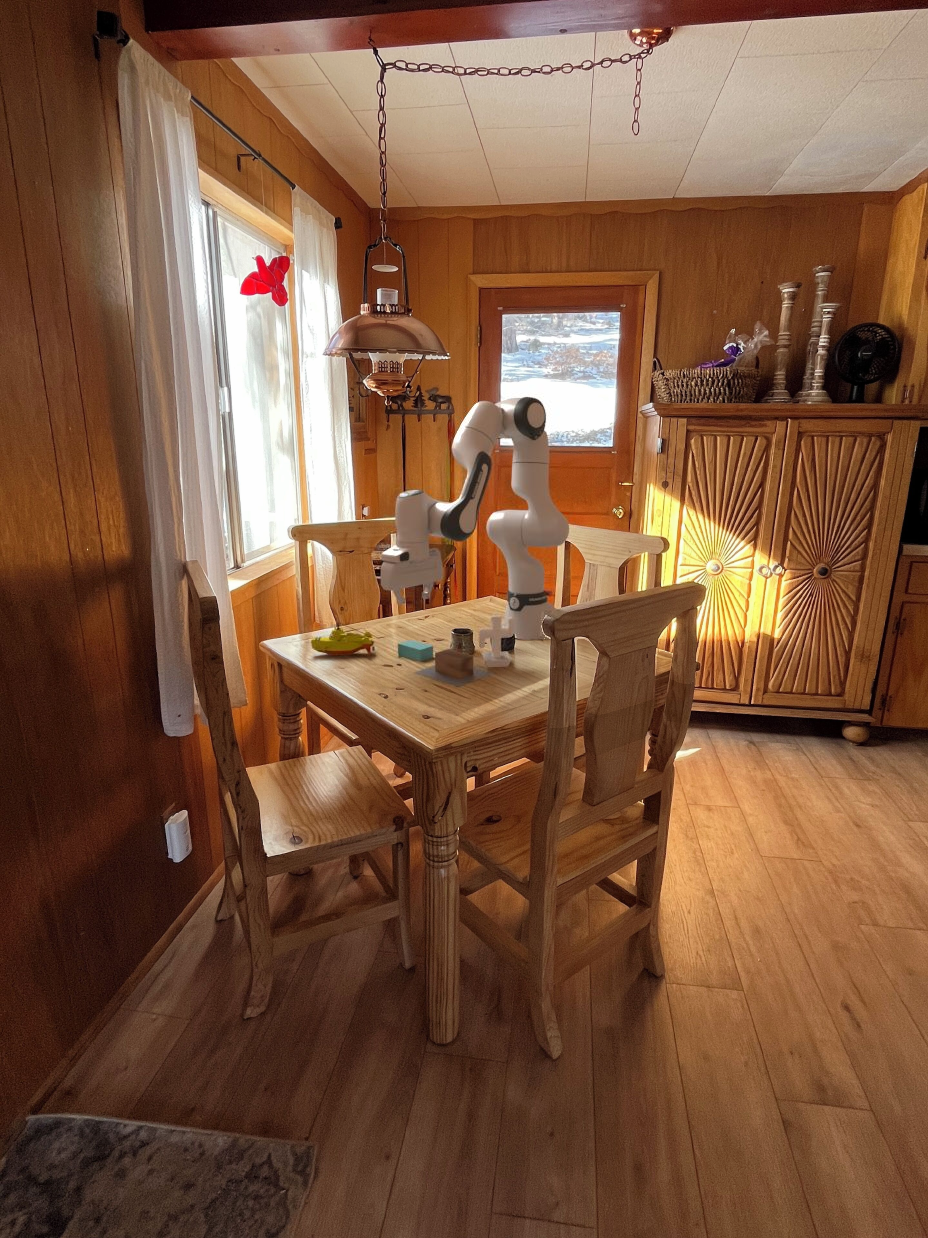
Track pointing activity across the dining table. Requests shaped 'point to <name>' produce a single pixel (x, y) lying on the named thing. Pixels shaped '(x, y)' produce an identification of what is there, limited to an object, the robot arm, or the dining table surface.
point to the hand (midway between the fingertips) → (413, 601)
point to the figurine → (496, 641)
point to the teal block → (415, 650)
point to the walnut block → (454, 663)
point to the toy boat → (343, 642)
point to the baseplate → (454, 681)
